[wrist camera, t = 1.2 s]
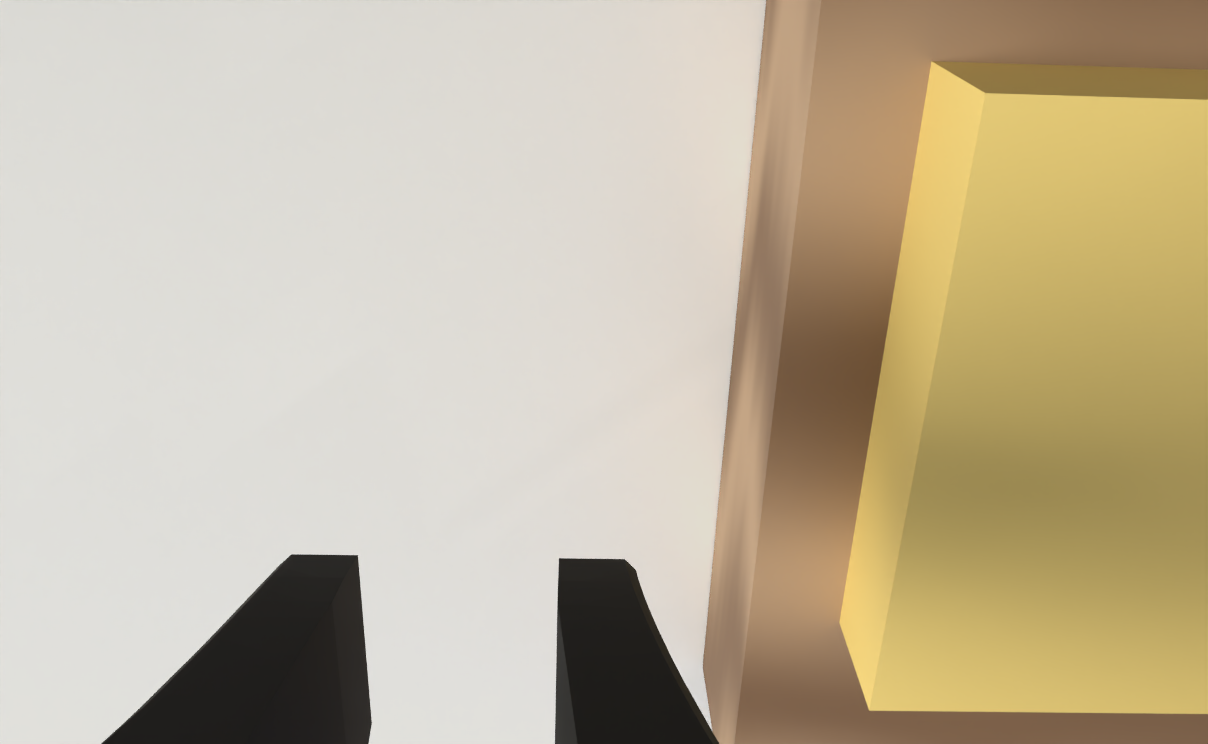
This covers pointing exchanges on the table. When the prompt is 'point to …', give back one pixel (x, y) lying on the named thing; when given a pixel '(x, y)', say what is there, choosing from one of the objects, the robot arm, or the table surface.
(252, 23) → the table surface
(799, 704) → the brown wooden block
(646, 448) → the table surface
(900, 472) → the flat yellow block
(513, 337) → the table surface
